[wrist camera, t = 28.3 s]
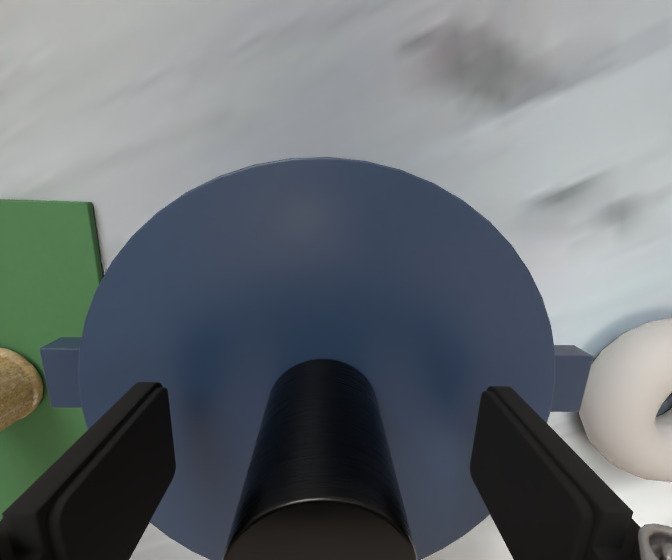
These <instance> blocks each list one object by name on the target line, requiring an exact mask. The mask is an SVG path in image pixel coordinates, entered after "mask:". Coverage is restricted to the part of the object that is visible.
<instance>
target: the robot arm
mask: <svg viewBox="0 0 672 560" xmlns="http://www.w3.org/2000/svg"><path fill="white" fill-rule="evenodd" d="M175 470H176V460H175V451H174V442H173V432H172V423H171V414H170V404H169V395H168V390H167V388H165V387H162V385H161V383H159V382H137V383H136V384H134V385H133V386H132V387H131V388H130V389H129V390H128V391H127V392H126V393H125V394H124V395H123V396H122V397H121V398H120V399H119V400H118V401H117V402H116V403H115V404H114V405H113V406H112V407H111V408H110V409H109V410H108V411H107V412H106V413H105V414H104V415H103V416H102V417H101V418H100V419H99V420H98V421H97V422H96V423H94V424H93V425H92V426H91V427H90V428H89V429H88V430H87V431H86V432H85V433H84V434H83V435H82V436H81V437H80V438H79V439H78V440H77V441H76V442H75V443H74V444H73V445H72V446H71V447H70V448H69V449H68V450H67V451H66V452H65V453H64V454H63V455H62V456H61V457H60V458H59V459H58V460H57V461H56V462H54V463H53V464H52V465H51V466H50V467H49V468H48V469H47V470H46V471H45V472H44V473H43V474H42V475H41V476H40V477H39V478H38V479H37V480H36V481H35V482H34V483H33V484H32V485H31V486H30V487H29V488H28V489H27V490H26V491H25V492H24V493H23V494H22V495H21V496H20V497H19V498H18V499H17V500H15V501H14V502H13V503H12V504H11V505H10V506H9V507H8V508H7V509H6V510H5V511H4V512H3V513H2V515H3V519H2V520H1V521H0V560H129V559H130V557H131V555H132V553H133V551H134V550H135V548H136V546H137V544H138V542H139V540H140V539H141V537H142V535H143V533H144V531H145V529H146V528H147V526H148V524H149V522H150V520H151V518H152V516H153V515H154V513H155V511H156V509H157V507H158V505H159V504H160V502H161V500H162V498H163V496H164V494H165V493H166V491H167V489H168V487H169V485H170V483H171V482H172V480H173V477H174V474H175ZM470 474H471V477H472V480H473V482H474V484H475V486H476V488H477V490H478V492H479V494H480V495H481V497H482V499H483V501H484V503H485V505H486V507H487V509H488V511H489V513H490V515H491V517H492V519H493V521H494V522H495V524H496V526H497V528H498V530H499V532H500V534H501V536H502V538H503V540H504V542H505V544H506V546H507V548H508V549H509V551H510V553H511V555H512V557H513V559H514V560H672V528H671V527H669V526H664V525H659V524H648V525H644V526H643V527H641V528H640V527H639V526H638V524H637V523H636V522H635V521H634V520H633V519H632V514H633V511H632V510H631V509H630V508H629V507H628V506H627V505H626V504H625V503H624V502H623V501H622V500H621V499H620V498H619V497H618V496H617V495H616V494H615V493H614V492H613V491H612V490H611V489H610V488H609V487H608V486H607V485H606V484H605V483H604V482H603V480H602V479H601V478H600V477H599V476H598V475H597V474H596V473H595V472H594V471H593V470H592V469H591V468H590V467H589V466H588V465H587V464H586V463H585V462H584V461H583V460H582V459H581V458H580V457H579V456H578V455H577V454H576V453H575V452H574V451H573V450H572V449H571V448H570V447H569V446H568V445H567V444H566V443H565V442H564V441H563V440H562V439H561V438H560V437H559V435H558V434H557V433H556V432H555V431H554V430H553V429H552V428H551V427H550V426H549V425H548V424H547V423H546V422H545V421H544V420H543V419H542V418H541V417H540V416H539V415H538V414H537V413H536V412H535V411H534V410H533V409H532V408H531V407H530V406H529V405H528V404H527V403H526V402H525V401H524V400H523V399H522V398H521V397H520V396H519V395H518V394H517V393H516V392H515V390H514V389H512V388H511V387H508V386H490V387H488V388H487V391H484V392H482V394H481V399H480V405H479V411H478V418H477V424H476V430H475V436H474V442H473V449H472V455H471V461H470Z"/></svg>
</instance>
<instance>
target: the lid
mask: <svg viewBox="0 0 672 560" xmlns="http://www.w3.org/2000/svg"><path fill="white" fill-rule="evenodd" d="M78 381H79V390H80V400H81V407H82V411H83V415H84V418H85V422H86V426H87V430H88V429H89V428H90V427H91V426H92V425H93V424H94V423H96V422H97V421H98V420H99V419H100V418H101V417H102V416H103V415H104V414H105V413H106V412H107V411H108V410H109V409H110V408H111V407H112V406H113V405H114V404H115V403H116V402H117V401H118V400H119V399H120V398H121V397H122V396H123V395H124V394H125V393H126V392H127V391H128V390H129V389H130V388H131V387H132V386H133V385H134V384H136V383H137V382H159V383H161V385H162V387H165V388H167V390H168V395H169V404H170V414H171V423H172V432H173V442H174V451H175V460H176V470H175V474H174V477H173V480H172V482H171V483H170V485H169V487H168V489H167V491H166V493H165V494H164V496H163V498H162V500H161V502H160V504H159V505H158V507H157V509H156V511H155V513H154V515H153V516H152V518H151V520H150V523H152V524H153V525H154V526H155V527H157V528H158V529H159V530H161V531H162V532H163V533H165V534H166V535H167V536H168V537H170V538H171V539H173V540H175V541H176V542H178V543H180V544H181V545H183V546H184V547H186V548H188V549H189V550H191V551H193V552H195V553H197V554H199V555H201V556H204V557H206V558H208V559H210V560H421V559H423V558H425V557H427V556H429V555H431V554H433V553H435V552H437V551H439V550H441V549H443V548H445V547H446V546H448V545H449V544H451V543H452V542H454V541H456V540H457V539H459V538H460V537H462V536H464V535H465V534H466V533H468V532H469V531H470V530H471V529H473V528H474V527H475V526H476V525H478V524H479V523H480V522H481V521H483V520H484V519H485V518H486V517H487V516H488V515H489V514H490V513H489V511H488V509H487V507H486V505H485V503H484V501H483V499H482V497H481V495H480V494H479V492H478V490H477V488H476V486H475V484H474V482H473V480H472V477H471V474H470V461H471V455H472V449H473V442H474V436H475V430H476V424H477V418H478V411H479V405H480V399H481V394H482V392H484V391H487V388H488V387H490V386H508V387H511V388H512V389H514V390H515V392H516V393H517V394H518V395H519V396H520V397H521V398H522V399H523V400H524V401H525V402H526V403H527V404H528V405H529V406H530V407H531V408H532V409H533V410H534V411H535V412H536V413H537V414H538V415H539V416H540V417H541V418H542V419H543V420H544V421H545V422H546V423H547V421H548V417H549V414H550V410H551V406H552V399H553V392H554V385H555V350H554V344H553V337H552V330H551V325H550V322H549V318H548V315H547V312H546V309H545V305H544V302H543V299H542V297H541V294H540V292H539V290H538V288H537V286H536V284H535V282H534V280H533V278H532V276H531V274H530V272H529V270H528V269H527V267H526V266H525V264H524V263H523V261H522V260H521V258H520V257H519V255H518V254H517V252H516V251H515V250H514V248H513V247H512V245H511V244H510V243H509V242H508V241H507V240H506V239H505V238H504V237H503V235H502V234H501V233H500V232H499V231H498V230H497V229H496V228H495V227H494V226H493V225H492V224H491V223H490V222H489V221H488V220H487V219H486V218H484V217H483V216H482V215H481V214H479V213H478V212H477V211H476V210H474V209H473V208H472V207H471V206H469V205H468V204H467V203H466V202H464V201H463V200H461V199H460V198H458V197H456V196H455V195H453V194H451V193H449V192H448V191H446V190H444V189H443V188H441V187H439V186H437V185H436V184H434V183H432V182H429V181H427V180H424V179H422V178H419V177H417V176H414V175H412V174H409V173H407V172H405V171H402V170H399V169H395V168H391V167H387V166H383V165H379V164H375V163H371V162H367V161H360V160H351V159H341V158H332V157H317V158H290V159H285V160H279V161H273V162H268V163H262V164H256V165H252V166H249V167H246V168H243V169H240V170H237V171H234V172H231V173H228V174H225V175H221V176H219V177H217V178H215V179H213V180H211V181H208V182H206V183H204V184H202V185H200V186H198V187H196V188H194V189H192V190H190V191H188V192H186V193H185V194H183V195H182V196H180V197H179V198H178V199H176V200H175V201H173V202H172V203H170V204H169V205H167V206H166V207H165V208H163V209H162V210H160V211H159V212H157V213H156V214H155V215H154V216H153V217H152V218H151V219H150V220H149V221H148V222H147V223H146V224H145V225H143V226H142V227H141V228H140V229H139V230H138V231H137V232H136V233H135V234H134V235H133V236H132V237H131V238H130V240H129V241H128V242H127V243H126V245H125V246H124V247H123V248H122V250H121V251H120V252H119V254H118V255H117V256H116V257H115V259H114V260H113V261H112V263H111V265H110V266H109V268H108V270H107V272H106V273H105V275H104V277H103V279H102V281H101V282H100V284H99V286H98V288H97V289H96V292H95V294H94V297H93V300H92V302H91V305H90V308H89V310H88V313H87V316H86V319H85V323H84V328H83V333H82V338H81V343H80V348H79V368H78Z"/></svg>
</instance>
